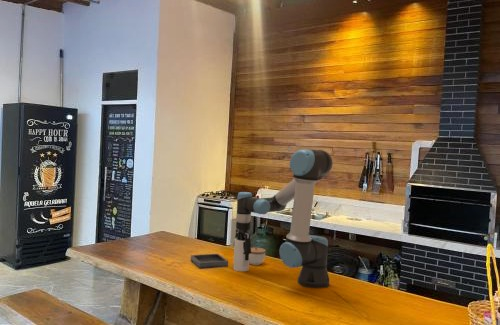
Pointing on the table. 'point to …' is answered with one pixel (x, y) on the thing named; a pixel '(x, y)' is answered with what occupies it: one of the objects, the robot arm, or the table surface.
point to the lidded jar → (257, 256)
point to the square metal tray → (209, 261)
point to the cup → (239, 256)
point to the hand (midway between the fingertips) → (241, 263)
